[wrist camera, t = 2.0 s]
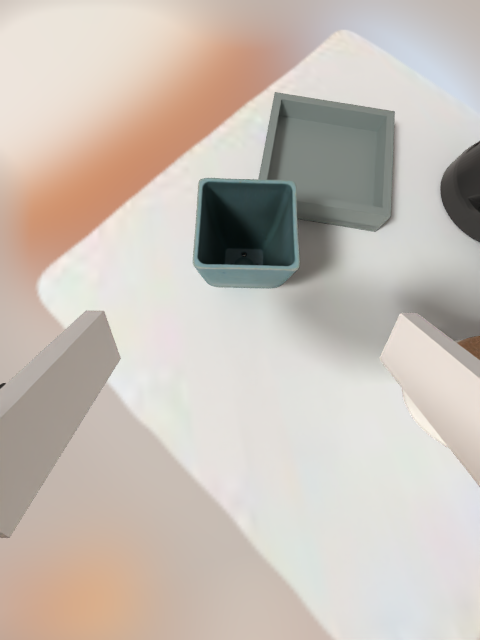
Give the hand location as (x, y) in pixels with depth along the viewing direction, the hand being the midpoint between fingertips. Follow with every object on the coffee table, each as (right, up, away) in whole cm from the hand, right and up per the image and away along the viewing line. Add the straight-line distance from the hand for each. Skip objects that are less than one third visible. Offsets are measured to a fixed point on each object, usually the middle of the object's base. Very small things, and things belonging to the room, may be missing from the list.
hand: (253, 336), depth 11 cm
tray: (+10, +21, +21) cm, 31 cm away
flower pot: (0, +7, +18) cm, 19 cm away
